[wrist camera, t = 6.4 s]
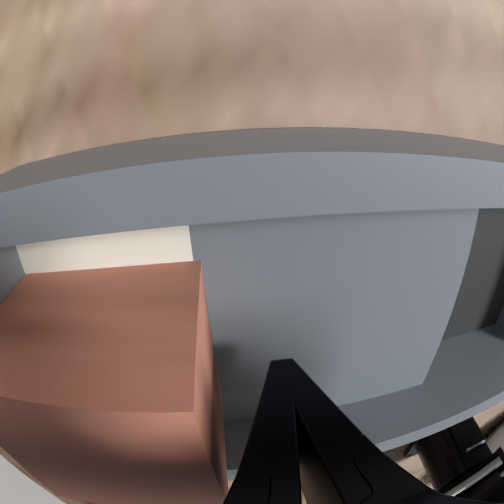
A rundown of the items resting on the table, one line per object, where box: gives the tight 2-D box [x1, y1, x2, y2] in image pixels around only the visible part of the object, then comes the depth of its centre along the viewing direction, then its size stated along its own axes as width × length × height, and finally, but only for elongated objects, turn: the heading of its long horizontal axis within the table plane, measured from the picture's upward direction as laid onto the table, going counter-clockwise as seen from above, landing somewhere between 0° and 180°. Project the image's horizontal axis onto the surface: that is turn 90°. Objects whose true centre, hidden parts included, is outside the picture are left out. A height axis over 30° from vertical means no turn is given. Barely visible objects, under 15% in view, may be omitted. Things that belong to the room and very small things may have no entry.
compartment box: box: [0, 127, 504, 480], centre depth 11 cm, size 12×36×6 cm, turn 93°
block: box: [0, 260, 228, 504], centre depth 8 cm, size 6×6×5 cm
